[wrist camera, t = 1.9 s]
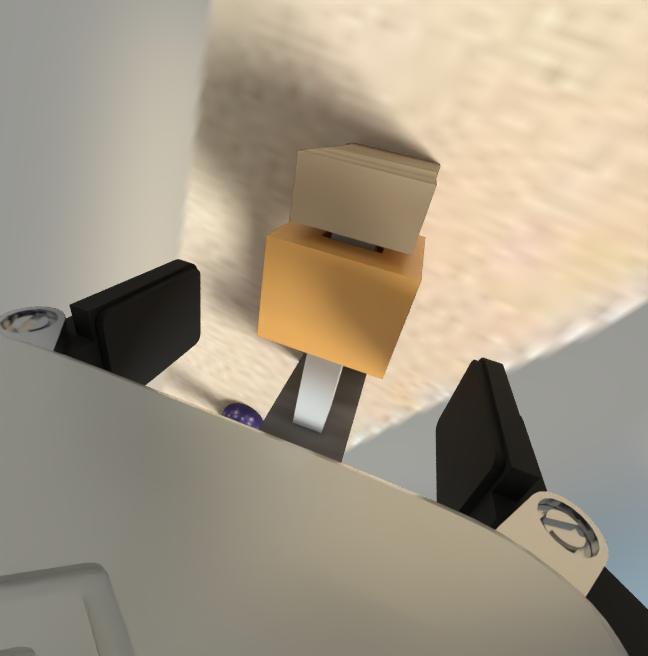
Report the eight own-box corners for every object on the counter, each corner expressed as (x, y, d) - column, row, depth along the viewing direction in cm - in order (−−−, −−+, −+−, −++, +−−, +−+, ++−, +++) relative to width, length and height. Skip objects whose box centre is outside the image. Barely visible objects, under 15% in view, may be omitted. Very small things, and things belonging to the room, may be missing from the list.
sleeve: (314, 206, 14) (266, 235, 10) (425, 237, 14) (421, 281, 10) (301, 286, 17) (257, 336, 12) (395, 316, 16) (382, 379, 12)
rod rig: (353, 142, 16) (291, 148, 9) (439, 164, 16) (443, 187, 9) (306, 366, 24) (254, 458, 17) (361, 385, 24) (331, 489, 17)
